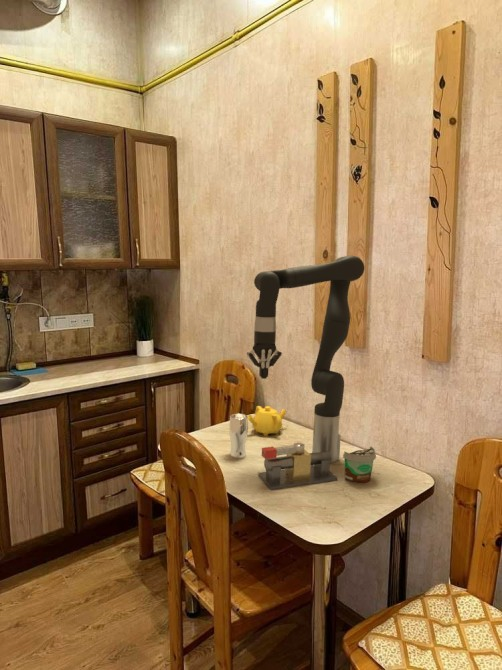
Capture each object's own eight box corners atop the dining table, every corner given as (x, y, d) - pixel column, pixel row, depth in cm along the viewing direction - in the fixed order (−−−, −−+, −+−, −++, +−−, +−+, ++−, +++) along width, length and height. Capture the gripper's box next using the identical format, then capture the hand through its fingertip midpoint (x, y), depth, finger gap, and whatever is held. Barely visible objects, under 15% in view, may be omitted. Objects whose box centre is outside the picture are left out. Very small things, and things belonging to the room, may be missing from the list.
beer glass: (245, 459, 170) (246, 420, 168) (226, 457, 171) (227, 418, 169) (248, 452, 177) (250, 414, 175) (231, 450, 178) (232, 412, 176)
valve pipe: (321, 466, 166) (322, 442, 164) (337, 480, 155) (338, 454, 154) (258, 475, 157) (259, 450, 156) (270, 490, 147) (271, 463, 146)
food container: (353, 487, 150) (355, 458, 149) (341, 480, 156) (343, 451, 154) (382, 480, 156) (384, 452, 155) (369, 473, 161) (371, 446, 160)
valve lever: (300, 449, 157) (301, 442, 157) (306, 453, 154) (306, 445, 154) (261, 455, 151) (261, 447, 151) (265, 459, 148) (266, 451, 148)
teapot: (274, 422, 212) (274, 398, 211) (298, 434, 197) (299, 409, 196) (236, 429, 202) (237, 404, 200) (259, 443, 187) (259, 416, 185)
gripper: (278, 327, 168) (276, 374, 170) (243, 328, 163) (242, 376, 165) (287, 330, 161) (285, 379, 163) (251, 331, 156) (249, 381, 158)
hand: (263, 378), depth 164 cm, fingers closed
